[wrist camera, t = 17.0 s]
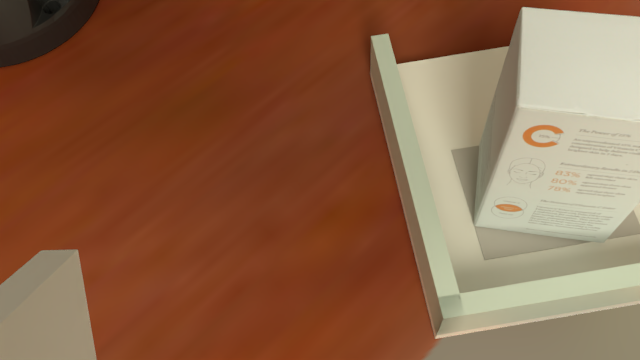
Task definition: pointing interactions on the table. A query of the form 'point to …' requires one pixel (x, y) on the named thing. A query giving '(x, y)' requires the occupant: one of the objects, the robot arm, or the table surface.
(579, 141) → the small box
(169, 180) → the table surface
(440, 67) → the tray
